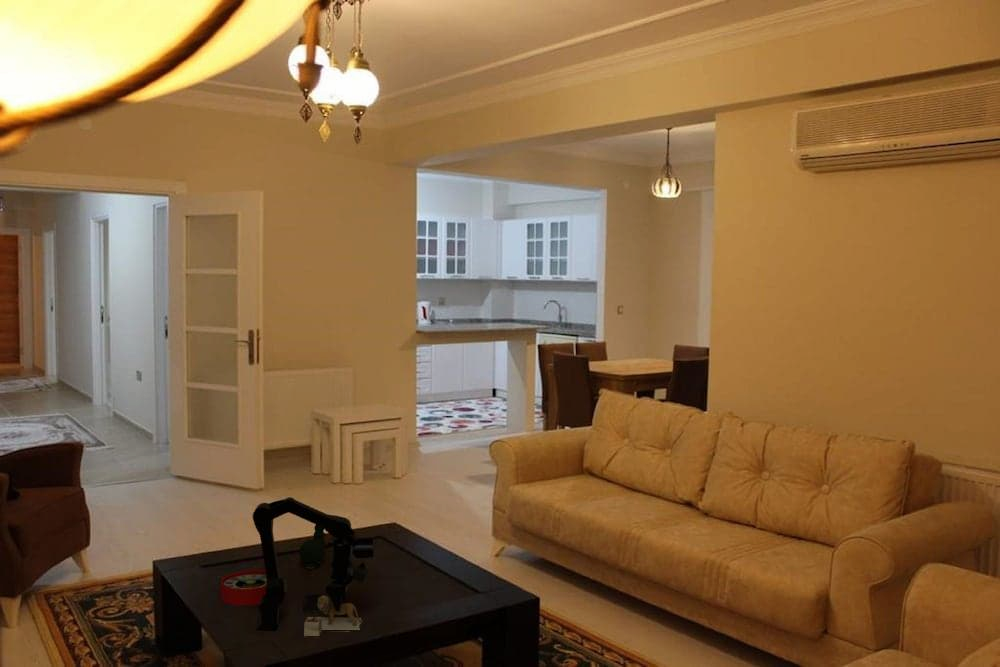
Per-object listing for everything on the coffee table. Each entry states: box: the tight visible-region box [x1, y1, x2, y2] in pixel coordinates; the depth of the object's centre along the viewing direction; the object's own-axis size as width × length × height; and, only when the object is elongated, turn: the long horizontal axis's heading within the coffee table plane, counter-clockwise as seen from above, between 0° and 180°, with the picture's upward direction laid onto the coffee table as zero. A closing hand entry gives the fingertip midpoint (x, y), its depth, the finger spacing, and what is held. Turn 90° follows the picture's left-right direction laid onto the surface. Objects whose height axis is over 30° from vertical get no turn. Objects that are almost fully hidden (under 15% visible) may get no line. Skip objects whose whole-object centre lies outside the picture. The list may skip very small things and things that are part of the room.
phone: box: [300, 594, 327, 613], centre depth 296 cm, size 8×1×15 cm
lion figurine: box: [317, 595, 363, 626], centre depth 279 cm, size 15×5×9 cm, turn 94°
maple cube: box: [303, 616, 323, 637], centre depth 271 cm, size 4×4×5 cm
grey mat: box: [320, 616, 362, 630], centre depth 279 cm, size 10×16×1 cm, turn 90°
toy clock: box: [219, 569, 267, 606], centre depth 303 cm, size 20×6×20 cm
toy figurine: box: [298, 524, 327, 568], centre depth 338 cm, size 9×19×25 cm
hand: (340, 605), depth 279 cm, fingers open, 9 cm apart
